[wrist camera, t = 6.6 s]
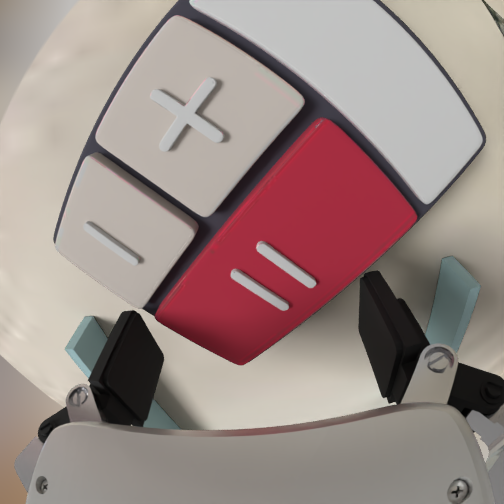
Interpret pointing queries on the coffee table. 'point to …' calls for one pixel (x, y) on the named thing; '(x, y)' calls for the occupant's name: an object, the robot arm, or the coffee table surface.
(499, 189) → the coffee table surface
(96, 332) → the teal u-shaped piece
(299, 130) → the calculator
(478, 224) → the coffee table surface
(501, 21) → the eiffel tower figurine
